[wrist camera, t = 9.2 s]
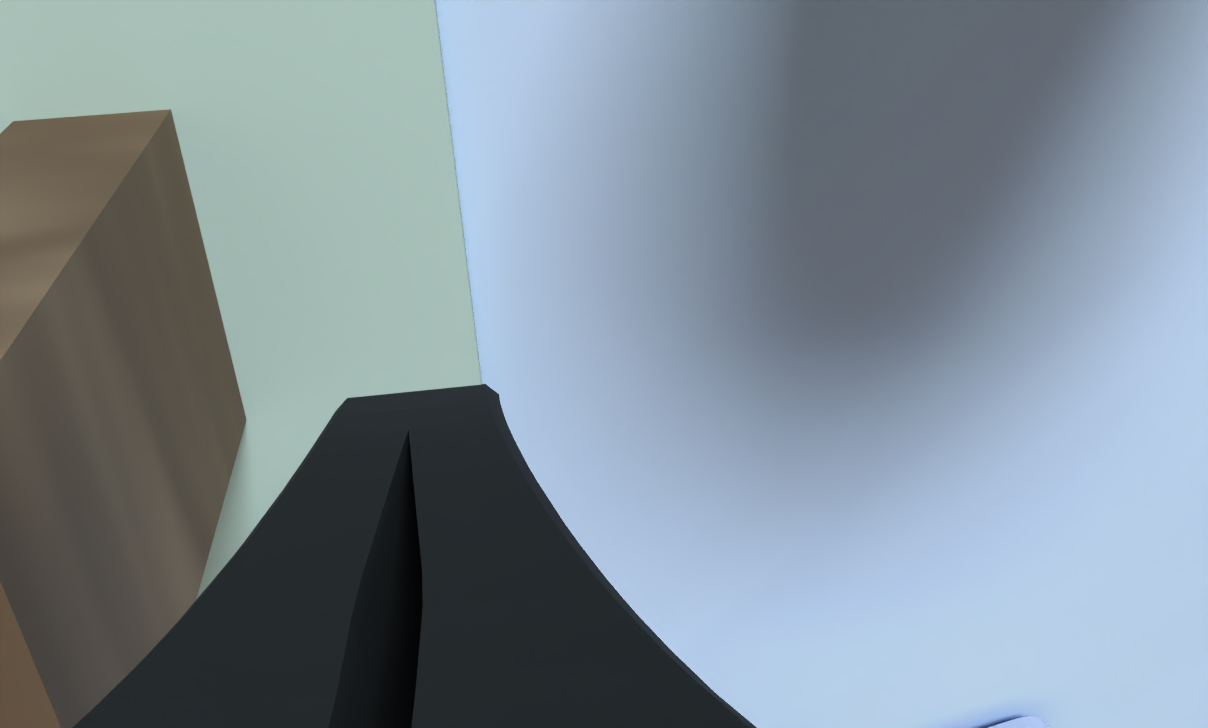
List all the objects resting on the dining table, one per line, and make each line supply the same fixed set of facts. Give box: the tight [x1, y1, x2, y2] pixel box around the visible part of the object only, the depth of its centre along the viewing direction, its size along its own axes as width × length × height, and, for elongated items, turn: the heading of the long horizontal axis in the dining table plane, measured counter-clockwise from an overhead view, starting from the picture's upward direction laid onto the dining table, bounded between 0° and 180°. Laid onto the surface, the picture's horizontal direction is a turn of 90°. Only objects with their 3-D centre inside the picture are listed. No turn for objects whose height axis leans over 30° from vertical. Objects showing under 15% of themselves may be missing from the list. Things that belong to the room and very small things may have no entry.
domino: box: [0, 109, 246, 728], centre depth 11 cm, size 2×4×7 cm, turn 3°
